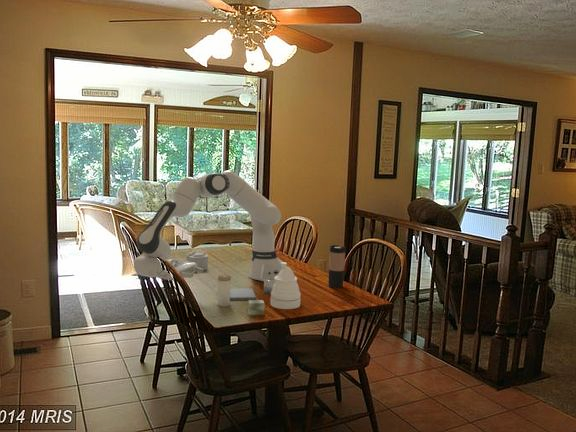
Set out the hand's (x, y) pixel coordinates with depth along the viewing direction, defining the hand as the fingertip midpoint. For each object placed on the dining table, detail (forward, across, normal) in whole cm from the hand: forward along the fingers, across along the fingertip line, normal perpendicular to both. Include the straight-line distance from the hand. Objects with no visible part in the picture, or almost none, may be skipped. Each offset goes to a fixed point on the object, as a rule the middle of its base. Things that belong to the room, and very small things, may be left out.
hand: (197, 273), depth 218 cm
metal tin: (+25, +25, +12) cm, 38 cm away
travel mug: (+51, +49, +12) cm, 72 cm away
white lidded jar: (+13, 0, +12) cm, 18 cm away
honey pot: (+37, +11, +12) cm, 40 cm away
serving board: (+13, +15, +12) cm, 23 cm away
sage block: (+29, -5, +12) cm, 32 cm away
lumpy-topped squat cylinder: (-27, +54, +12) cm, 62 cm away
